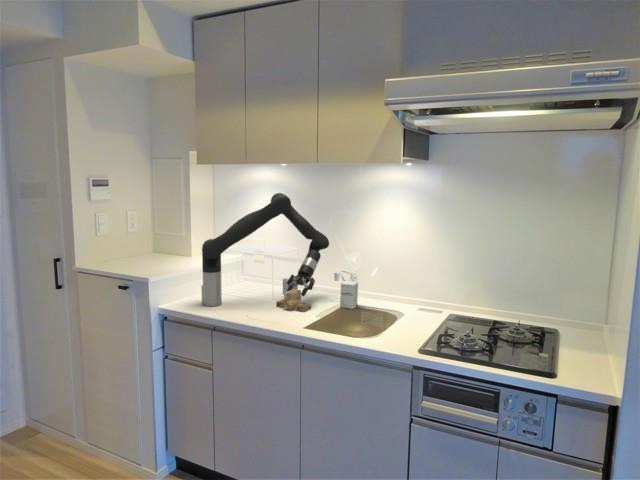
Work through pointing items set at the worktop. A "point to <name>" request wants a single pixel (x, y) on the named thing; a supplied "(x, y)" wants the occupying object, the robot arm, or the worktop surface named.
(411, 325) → the worktop surface
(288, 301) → the oak crosspiece
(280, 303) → the notched beam
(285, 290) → the medicine box
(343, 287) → the supplement box
